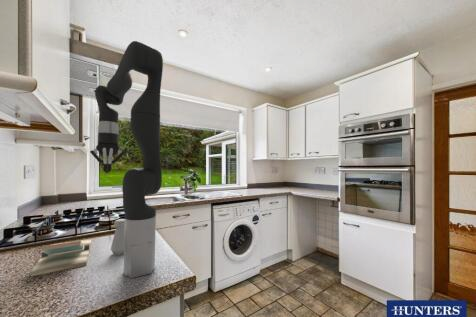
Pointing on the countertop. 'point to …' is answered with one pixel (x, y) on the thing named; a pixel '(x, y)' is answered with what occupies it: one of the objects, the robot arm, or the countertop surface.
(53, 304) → the countertop surface
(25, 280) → the countertop surface
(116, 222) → the salt shaker
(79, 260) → the board
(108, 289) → the countertop surface
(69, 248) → the tile
